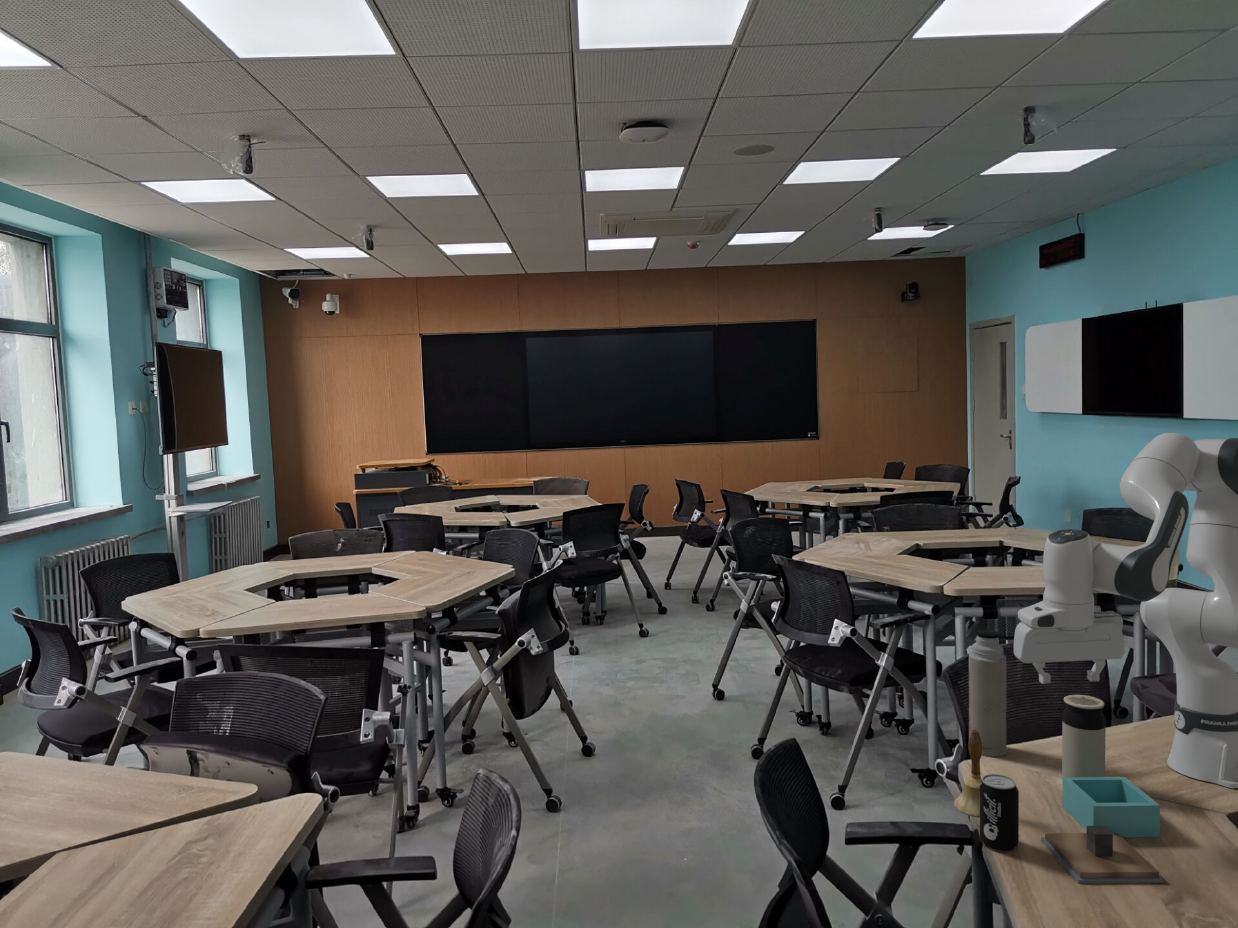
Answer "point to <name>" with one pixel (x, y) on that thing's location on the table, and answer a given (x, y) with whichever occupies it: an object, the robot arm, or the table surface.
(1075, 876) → the tray
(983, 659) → the thermos bottle
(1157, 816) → the dish
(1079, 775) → the travel mug
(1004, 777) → the beverage can
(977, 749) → the hand bell
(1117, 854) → the lid
